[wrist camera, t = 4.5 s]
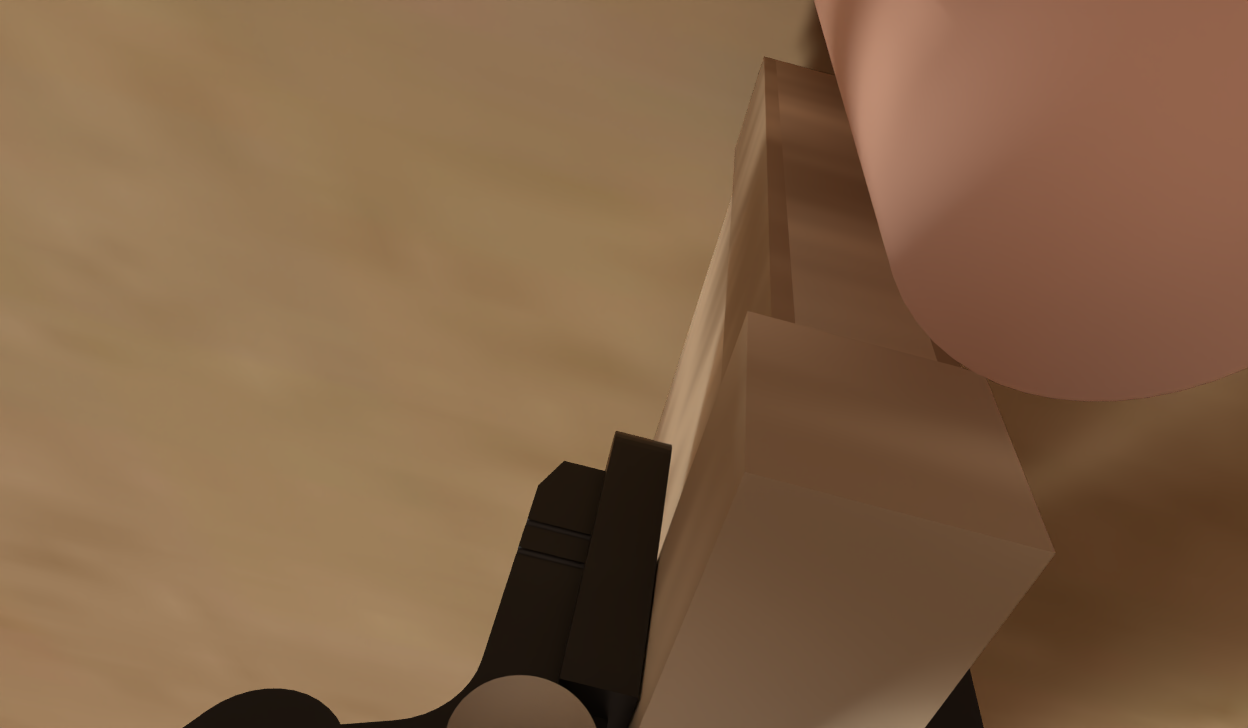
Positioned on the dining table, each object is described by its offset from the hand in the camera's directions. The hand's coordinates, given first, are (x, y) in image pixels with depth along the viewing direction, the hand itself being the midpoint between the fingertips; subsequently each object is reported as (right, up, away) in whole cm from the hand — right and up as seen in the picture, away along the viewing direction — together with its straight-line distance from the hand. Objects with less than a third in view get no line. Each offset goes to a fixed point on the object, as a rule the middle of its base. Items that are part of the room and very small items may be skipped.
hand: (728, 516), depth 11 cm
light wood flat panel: (0, 0, +8) cm, 8 cm away
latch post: (+3, +9, +3) cm, 10 cm away
